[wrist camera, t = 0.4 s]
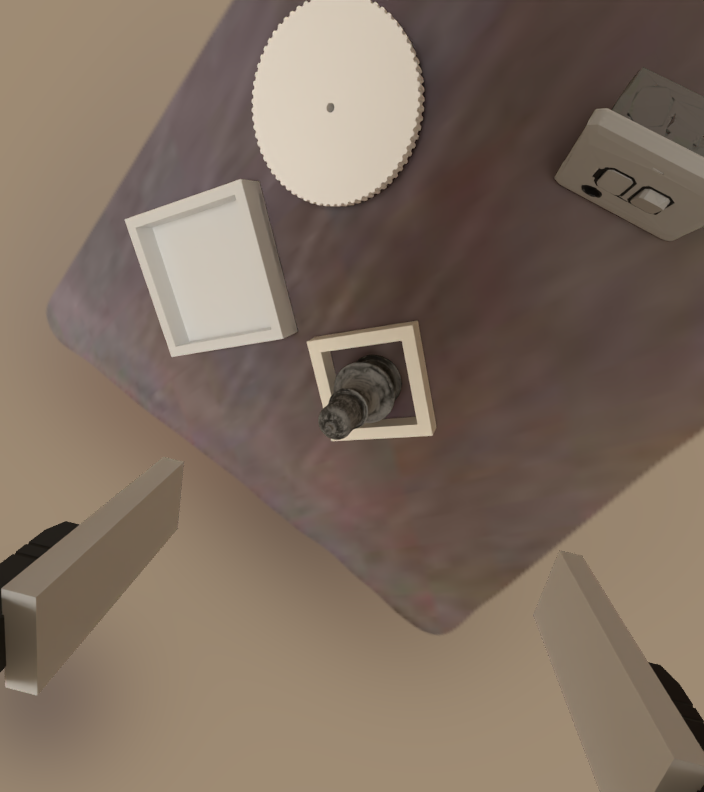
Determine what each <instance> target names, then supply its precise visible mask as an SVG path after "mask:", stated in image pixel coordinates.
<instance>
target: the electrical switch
mask: <svg viewBox="0 0 704 792" xmlns="http://www.w3.org/2000/svg"><path fill="white" fill-rule="evenodd" d="M638 72H639V71H638ZM638 72H637V73H638ZM636 75H637V74H636ZM636 75H635V76H634V78H635V77H636ZM634 78H633V79H632V80H631V82H630V83H629V85H628V86H627V87H626V89H625V90H624V91H623V93H622V94H621V96H620V97H619V99H618V100H617V102H616V104H615V105H614V107H613V108H612V110H610V109H608V108H602V109H596V110H595V111H594V112H593V114H592V116H591V117H590V119H589V120H588V124H587V125H586V127H585V129H584V130H583V132H582V134H581V135H580V137H579V138H578V140H577V142H576V143H575V145H574V147H573V148H572V150H571V152H570V153H569V155H568V156H567V158H566V160H565V161H564V162H563V163H562V165H561V167H560V168H559V170H558V172H557V174H556V176H555V180H556V181H557V182H558V184H560V185H562V186H563V187H565V188H567V189H569V190H571V191H573V192H575V193H576V194H578V195H580V196H582V197H584V198H586V199H588V200H589V201H591V202H593V203H595V204H597V205H599V206H601V207H602V208H604V209H606V210H608V211H610V212H612V213H614V214H616V215H617V216H619V217H621V218H623V219H625V220H627V221H629V222H630V223H632V224H634V225H636V226H638V227H640V228H642V229H643V230H645V231H647V232H649V233H651V234H653V235H655V236H657V237H658V238H661V239H663V240H667V241H674V240H676V239H678V238H680V237H682V236H684V235H686V234H688V233H690V232H692V231H695V230H697V229H699V228H701V227H703V226H704V139H703V135H704V97H703V96H701V95H699V94H697V93H695V92H693V91H691V90H689V89H687V88H685V87H683V86H681V85H679V84H677V83H675V82H672V81H670V80H668V79H666V78H664V77H662V76H660V75H658V74H656V73H654V72H652V71H650V70H648V69H646V68H644V67H643V68H642V69H641V71H640V72H639V74H638V75H637V77H636V78H635V79H634ZM633 80H634V81H633ZM656 84H657V86H654V85H656ZM627 113H628V114H627ZM674 115H675V120H674V122H673V123H672V124H671V125H670V126H668V125H669V123H670V121H671V120H672V118H673V116H674ZM666 132H669V133H670V132H671V133H670V134H669V133H668V134H667V133H666ZM693 145H694V146H693ZM696 146H697V147H696Z"/></svg>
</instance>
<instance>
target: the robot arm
mask: <svg viewBox="0 0 704 792" xmlns="http://www.w3.org/2000/svg"><path fill="white" fill-rule="evenodd" d="M183 467H184V462H182V461H178V460H174V459H170V458H166V457H162V458H161V459H160V460H159V461H157V462H156V463H155V464H154V465H152V466H151V467H150V468H149V469H147V470H146V471H145V472H144V473H143V474H141V475H140V476H139V477H138V478H137V479H135V480H134V481H133V482H132V483H130V484H129V485H128V486H127V487H125V488H124V489H123V490H122V491H120V492H119V493H118V494H117V495H116V496H115V497H113V498H112V499H111V500H109V501H108V502H107V503H106V504H105V505H103V506H102V507H101V508H100V509H98V510H97V511H96V512H95V513H93V514H92V515H91V516H90V517H89V518H87V519H86V520H85V521H84V522H83V523H81V524H80V525H79V524H75V523H71V522H67V521H66V522H63V523H61V524H58V525H56V526H53V527H51V528H49V529H46V530H44V531H43V532H42V533H40V534H39V535H38V536H36V537H35V538H34V539H33V540H31V541H30V542H29V544H28V545H27V544H26V545H24V546H23V547H22V548H20V549H19V550H18V551H16V553H15V555H14V554H13V555H11V556H10V557H8V558H7V559H6V560H4V561H3V562H2V563H0V672H1V671H2V670H3V669H4V668H5V687H7V688H11V689H14V690H19V691H22V692H26V693H30V694H34V695H38V694H39V693H40V692H41V691H42V690H43V688H44V687H45V686H46V685H47V684H48V682H49V681H50V680H51V679H52V678H53V676H54V675H55V674H56V673H57V672H58V670H59V669H60V668H61V667H62V665H64V663H65V662H66V661H67V660H68V659H69V657H70V656H71V655H72V654H73V652H74V651H75V650H76V649H77V648H78V647H79V646H80V644H81V643H82V642H83V641H84V639H85V638H86V637H87V636H88V635H89V633H90V632H91V631H92V630H93V629H94V628H95V626H96V625H97V624H98V623H99V622H100V620H101V619H102V618H103V617H104V616H105V615H106V613H107V612H108V611H109V610H110V609H111V607H112V606H113V605H114V604H115V603H116V602H117V600H118V599H119V598H120V597H121V596H122V594H123V593H124V592H125V591H126V590H127V588H128V587H129V586H130V585H131V584H132V582H133V581H134V580H135V579H136V578H137V576H138V575H139V574H140V573H141V572H142V570H143V569H144V568H145V567H146V566H147V565H148V563H149V562H150V561H151V560H152V559H153V558H154V556H155V555H156V554H157V553H158V551H159V550H160V549H161V548H162V547H163V546H164V544H165V543H166V542H167V541H168V539H169V538H170V537H171V536H172V535H173V534H174V533H175V531H176V530H177V529H178V518H179V508H180V499H181V489H182V478H183ZM533 616H534V619H535V621H536V624H537V627H538V629H539V632H540V635H541V637H542V640H543V643H544V645H545V648H546V650H547V653H548V656H549V658H550V661H551V664H552V666H553V669H554V672H555V674H556V677H557V679H558V682H559V685H560V688H561V690H562V693H563V696H564V698H565V701H566V703H567V706H568V709H569V711H570V714H571V717H572V720H573V722H574V725H575V727H576V730H577V733H578V735H579V738H580V741H581V743H582V746H583V749H584V751H585V754H586V756H587V759H588V762H589V765H590V767H591V770H592V772H593V775H594V778H595V780H596V783H597V786H598V788H599V791H600V792H704V721H703V719H702V718H701V716H700V715H699V713H698V712H697V710H696V708H693V704H692V702H691V701H690V699H689V698H688V696H687V695H686V693H685V692H684V690H683V689H682V687H681V686H680V684H679V683H678V682H677V681H676V680H675V679H673V678H672V676H671V675H670V674H669V673H668V672H667V671H666V670H664V668H663V667H662V666H661V665H658V664H653V663H649V662H648V661H647V660H646V658H645V656H644V655H643V653H642V651H641V650H640V648H639V647H638V645H637V643H636V642H635V640H634V639H633V637H632V635H631V634H630V632H629V631H628V629H627V627H626V626H625V624H624V623H623V621H622V619H621V618H620V616H619V614H618V613H617V611H616V610H615V608H614V606H613V605H612V603H611V602H610V600H609V598H608V597H607V595H606V593H605V592H604V590H603V589H602V587H601V585H600V584H599V582H598V581H597V579H596V577H595V576H594V574H593V572H592V571H591V569H590V568H589V566H588V565H587V563H586V561H585V560H584V558H583V556H581V555H577V554H573V553H569V552H564V551H559V553H558V555H557V557H556V560H555V563H554V565H553V567H552V570H551V572H550V575H549V577H548V580H547V582H546V585H545V587H544V590H543V592H542V595H541V597H540V599H539V602H538V604H537V607H536V610H535V612H534V614H533Z"/></svg>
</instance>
